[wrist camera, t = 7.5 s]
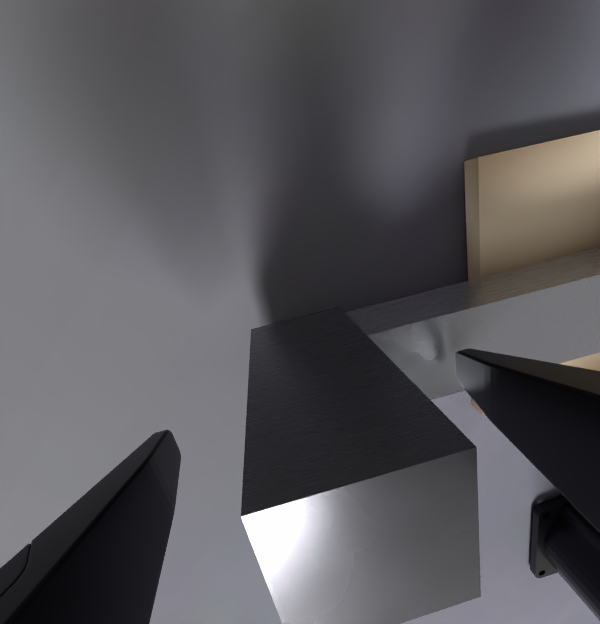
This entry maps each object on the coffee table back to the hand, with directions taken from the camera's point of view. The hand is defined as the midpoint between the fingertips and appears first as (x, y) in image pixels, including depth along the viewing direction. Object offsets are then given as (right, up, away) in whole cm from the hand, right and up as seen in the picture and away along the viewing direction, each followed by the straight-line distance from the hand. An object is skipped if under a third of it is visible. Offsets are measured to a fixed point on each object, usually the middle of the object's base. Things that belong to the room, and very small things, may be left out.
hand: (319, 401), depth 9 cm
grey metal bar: (+9, +3, +4) cm, 10 cm away
